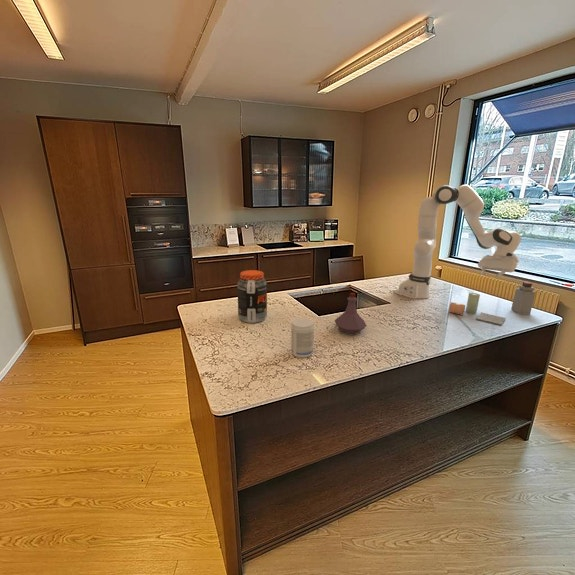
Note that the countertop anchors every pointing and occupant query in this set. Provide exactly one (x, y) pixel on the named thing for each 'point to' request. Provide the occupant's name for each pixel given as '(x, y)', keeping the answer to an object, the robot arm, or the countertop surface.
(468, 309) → the pale green rounded cylinder
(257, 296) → the supplement tub
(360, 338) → the countertop surface
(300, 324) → the supplement tub
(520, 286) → the perfume bottle
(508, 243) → the robot arm
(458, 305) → the tan rounded cylinder
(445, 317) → the countertop surface
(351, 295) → the flask
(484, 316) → the plate
